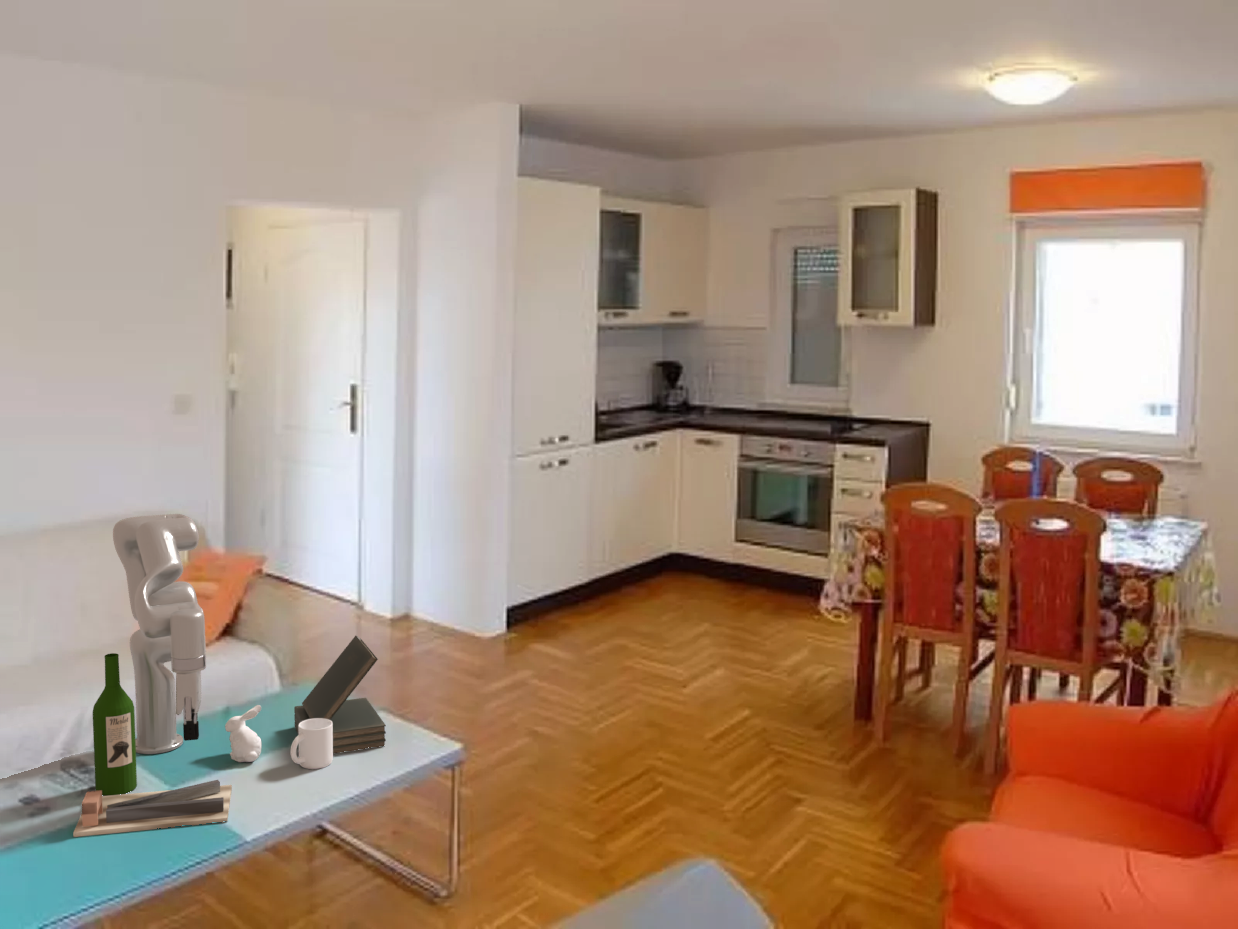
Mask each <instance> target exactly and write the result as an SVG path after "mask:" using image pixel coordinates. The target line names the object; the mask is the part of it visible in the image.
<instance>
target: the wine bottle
mask: <svg viewBox="0 0 1238 929" xmlns="http://www.w3.org/2000/svg"><path fill="white" fill-rule="evenodd" d="M119 656H120V655H119V654H118V653H113V652H111V653H107V654H105V655H104V657H103V658H104V684H105V686H104V688H103V690H102V692H101V693H100V695H99V697H98V698H97V700H96V701H95V703H94V705H93V707H92V708H93V709H92V733H93V734H92V735H93V756H94V757H93V759H94V760H93V761H94V764H93V765H94V781H95V782H94V784H95V791H99V790H102V795H103V796H110V795H120V794H126V793H127V794H129V793H131V792H133V791H135V789H136V788H137V785H138V777H137V753H136V743H135V739H136V720H135V719H136V716H135V715H136V713H135V705H134V702H133V700H132V699H131V698H130V695H128V694H127V692H126V691H125V690H124V689H123V687H122V685H121V679H120V678H121V677H120V665H119V664H120V662H119V661H120V660H119ZM130 791H131V792H130ZM128 792H129V793H128Z"/></svg>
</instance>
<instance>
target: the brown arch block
mask: <svg viewBox="0 0 1238 929" xmlns="http://www.w3.org/2000/svg"><path fill="white" fill-rule="evenodd" d="M102 813H103V807H102V790H99V791H96V790H89V791H86V793H85V795H84V798H83V800H82V801H81V814H82V824H83V827H84V826H94V825H98V814H102Z"/></svg>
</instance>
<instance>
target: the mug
mask: <svg viewBox="0 0 1238 929" xmlns="http://www.w3.org/2000/svg"><path fill="white" fill-rule="evenodd" d="M297 748H298V755H297ZM290 758H291V761H292V762H294V763H295V764H296V765H297V764H299V766H301V767H302V768H304V769H307V770H320V769H323V768H326V767H329V766H330V765H331V764H332V763H333V761H334V760H333V759H334V754H333V723H332V721H331V720H329V719H325V718H313V719H307V720H304V721H302V722H300V723H299V725H298V733H297V736H295V738H294V740H292V743H291V746H290Z"/></svg>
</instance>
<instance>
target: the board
mask: <svg viewBox="0 0 1238 929" xmlns="http://www.w3.org/2000/svg"><path fill="white" fill-rule="evenodd" d="M232 785H233V784H226V785H223V784H222V785H220V792H217V793H213V794H209V795H205V796H201V797H196V798H192V799H188V800H184V801H178V802H167V803H156V804H145V805H134V806H123V807H113V808H107V805H110V804H115V803H119V802H123V801H128V800H132V799H136V798H141V797H145V796H149V795H154V794H158V793H162V792H167V791H171V790H172V789H169V790H168V789H167V790H157V791H147V792H146V791H145V792H133V793H127V794H121V795H110V796H102V807H103V813H102V814H98V825H94V826H84V827H83V824H82V813H81V814H80V816H79V818H78V821H77V823H76V826H75V827H74V830H73V832H72V833H73V838H78V837H89V836H98V835H109V834H118V833H128V832H129V833H130V832H141V831H150V830H160V829H159V828H161V829H169V828H168V827H171V828H176V827H175V826H181V827H183V826H182V825H192V826H199V824H202V825H207V824H206V823H212V822H222V823H224V822H223V821H227V822H228V819H229V812H230V806H229V805H230V804H231V797H232V791H233V790H232V789H233V786H232ZM212 824H213V823H212ZM157 828H158V829H157Z"/></svg>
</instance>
